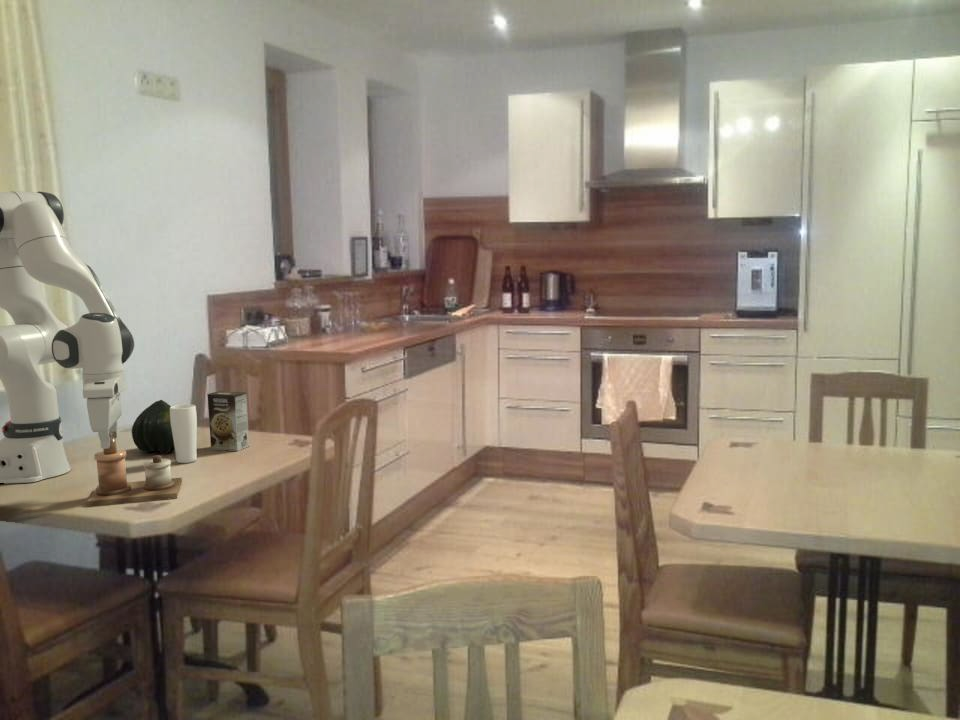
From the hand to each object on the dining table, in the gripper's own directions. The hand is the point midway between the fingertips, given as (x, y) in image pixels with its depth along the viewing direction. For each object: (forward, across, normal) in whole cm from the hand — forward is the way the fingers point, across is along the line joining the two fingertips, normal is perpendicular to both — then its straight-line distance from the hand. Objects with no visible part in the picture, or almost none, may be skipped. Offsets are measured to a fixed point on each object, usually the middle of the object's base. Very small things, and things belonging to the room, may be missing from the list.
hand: (109, 443), depth 199 cm
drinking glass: (+13, -29, +14) cm, 35 cm away
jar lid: (+3, 0, 0) cm, 3 cm away
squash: (+13, -45, +6) cm, 47 cm away
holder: (+12, 0, +5) cm, 13 cm away
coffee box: (+13, -41, +25) cm, 50 cm away
